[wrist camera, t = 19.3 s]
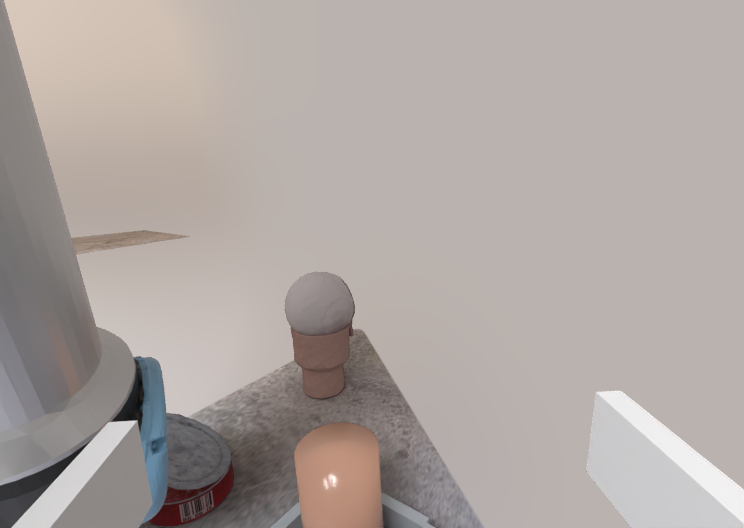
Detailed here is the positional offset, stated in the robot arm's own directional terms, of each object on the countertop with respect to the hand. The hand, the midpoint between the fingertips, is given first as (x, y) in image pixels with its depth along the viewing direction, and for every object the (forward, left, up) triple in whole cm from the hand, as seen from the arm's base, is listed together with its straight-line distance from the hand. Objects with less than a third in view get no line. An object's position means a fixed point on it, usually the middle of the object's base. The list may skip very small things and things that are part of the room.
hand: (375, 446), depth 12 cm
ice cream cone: (-37, +35, -28) cm, 58 cm away
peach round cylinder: (-13, +13, -27) cm, 33 cm away
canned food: (-35, +10, -28) cm, 46 cm away
